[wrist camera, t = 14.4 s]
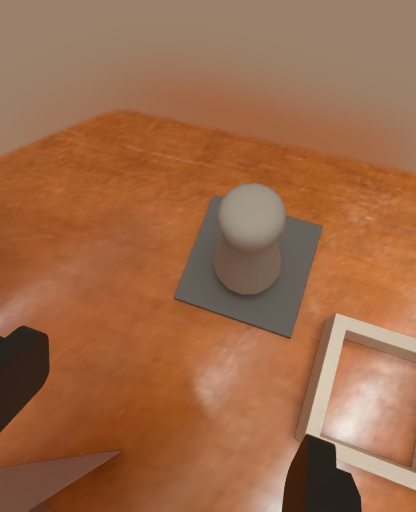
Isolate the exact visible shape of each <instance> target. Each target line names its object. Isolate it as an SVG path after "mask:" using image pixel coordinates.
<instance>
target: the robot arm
mask: <svg viewBox="0 0 416 512" xmlns="http://www.w3.org/2000/svg"><path fill="white" fill-rule="evenodd" d="M48 374H49V340H48V336H47V334H45V333H42V332H40V331H37V330H34V329H32V328H29V327H27V326H21V327H19V328H17V329H16V330H15V331H13V332H12V333H11V334H10V335H8V336H7V337H6V338H3V337H1V336H0V432H1V431H2V430H3V429H4V428H5V427H6V426H7V425H8V423H9V422H10V421H11V420H12V419H13V418H14V417H15V416H16V415H17V414H18V413H19V412H20V410H21V409H22V408H23V407H24V406H25V405H26V404H27V403H28V402H29V401H30V400H31V399H32V397H33V396H34V395H35V394H36V393H37V392H38V391H39V390H40V389H41V388H42V386H43V385H44V383H45V381H46V379H47V377H48ZM282 512H362V509H361V497H360V494H359V492H358V489H357V487H356V485H355V482H354V480H353V477H352V475H351V473H348V472H345V471H343V470H340V469H338V468H336V447H335V444H333V443H331V442H328V441H326V440H323V439H320V438H318V437H315V436H312V435H310V434H306V435H305V436H304V438H303V440H302V442H301V444H300V446H299V448H298V451H297V453H296V455H295V457H294V459H293V461H292V463H291V465H290V467H289V470H288V474H287V477H286V482H285V487H284V496H283V505H282Z"/></svg>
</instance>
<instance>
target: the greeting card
mask: <svg viewBox="0 0 416 512" xmlns="http://www.w3.org/2000/svg"><path fill="white" fill-rule="evenodd" d="M122 451H124V450H118V451H111V452H104V453H97V454H90V455H83V456H76V457H69V458H62V459H55V460H48V461H41V462H34V463H27V464H20V465H13V466H6V467H0V512H55V511H53V510H52V509H50V508H49V507H47V506H46V505H44V504H43V503H42V502H43V501H44V500H46V499H48V498H49V497H51V496H52V495H54V494H56V493H57V492H59V491H60V490H62V489H63V488H65V487H67V486H68V485H70V484H71V483H73V482H75V481H76V480H78V479H79V478H81V477H82V476H84V475H86V474H87V473H89V472H90V471H92V470H94V469H95V468H97V467H98V466H100V465H101V464H103V463H105V462H106V461H108V460H109V459H111V458H113V457H114V456H116V455H117V454H119V453H120V452H122Z"/></svg>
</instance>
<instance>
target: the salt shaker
mask: <svg viewBox="0 0 416 512" xmlns="http://www.w3.org/2000/svg"><path fill="white" fill-rule="evenodd" d="M285 222H286V210H285V207H284V204H283V201H282V199H281V197H280V196H279V195H278V194H277V193H276V192H275V191H273V190H272V189H271V188H269V187H267V186H264V185H261V184H258V183H250V184H241V185H239V186H237V187H235V188H233V189H231V190H229V191H228V193H227V194H226V195H225V197H224V198H223V199H222V200H221V202H220V205H219V210H218V215H217V223H218V226H219V229H220V232H221V236H222V239H221V241H220V243H219V245H218V247H217V249H216V254H215V258H214V263H213V264H214V267H215V270H216V274H217V277H218V278H219V279H220V281H221V282H222V283H223V284H224V285H225V286H226V287H227V289H229V290H232V291H234V292H237V293H239V294H242V295H247V294H258V293H260V292H262V291H264V290H265V289H267V288H269V287H271V285H272V284H273V283H274V281H275V280H276V278H277V277H278V276H279V274H280V267H281V260H282V259H281V256H280V252H279V248H278V244H277V240H278V239H279V238H280V236H281V235H282V234H283V232H284V229H285Z"/></svg>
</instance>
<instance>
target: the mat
mask: <svg viewBox="0 0 416 512" xmlns="http://www.w3.org/2000/svg"><path fill="white" fill-rule="evenodd" d="M222 199H223V198H222V197H219V196H215V195H213V197H212V200H211V202H210V205H209V208H208V210H207V213H206V215H205V218H204V221H203V223H202V226H201V228H200V231H199V233H198V236H197V239H196V241H195V244H194V246H193V249H192V252H191V254H190V257H189V259H188V262H187V265H186V267H185V270H184V272H183V275H182V278H181V280H180V283H179V285H178V288H177V291H176V293H175V296H174V299H176V300H179V301H182V302H185V303H188V304H191V305H194V306H197V307H200V308H203V309H206V310H209V311H211V312H214V313H217V314H220V315H223V316H226V317H229V318H232V319H235V320H238V321H241V322H244V323H246V324H249V325H252V326H255V327H258V328H261V329H264V330H267V331H270V332H273V333H276V334H279V335H281V336H284V337H287V338H291V335H292V332H293V328H294V325H295V321H296V318H297V314H298V311H299V307H300V304H301V300H302V297H303V293H304V290H305V286H306V283H307V279H308V275H309V272H310V268H311V265H312V261H313V258H314V254H315V251H316V247H317V244H318V240H319V237H320V233H321V230H322V226H321V225H318V224H314V223H310V222H307V221H303V220H300V219H296V218H293V217H289V216H286V222H285V229H284V232H283V234H282V235H281V236H280V238H279V239H278V240H277V244H278V248H279V252H280V256H281V259H282V260H281V267H280V274H279V276H278V277H277V278H276V280H275V281H274V283H273V284H272V285H271V287H269V288H267V289H265V290H264V291H262V292H260V293H258V294H247V295H242V294H239V293H237V292H234V291H232V290H229V289H227V287H226V286H225V285H224V284H223V283H222V282H221V281H220V279H219V278H218V277H217V274H216V270H215V267H214V264H213V263H214V258H215V254H216V249H217V247H218V245H219V243H220V241H221V239H222V236H221V232H220V229H219V226H218V223H217V215H218V210H219V205H220V202H221V200H222Z"/></svg>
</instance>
